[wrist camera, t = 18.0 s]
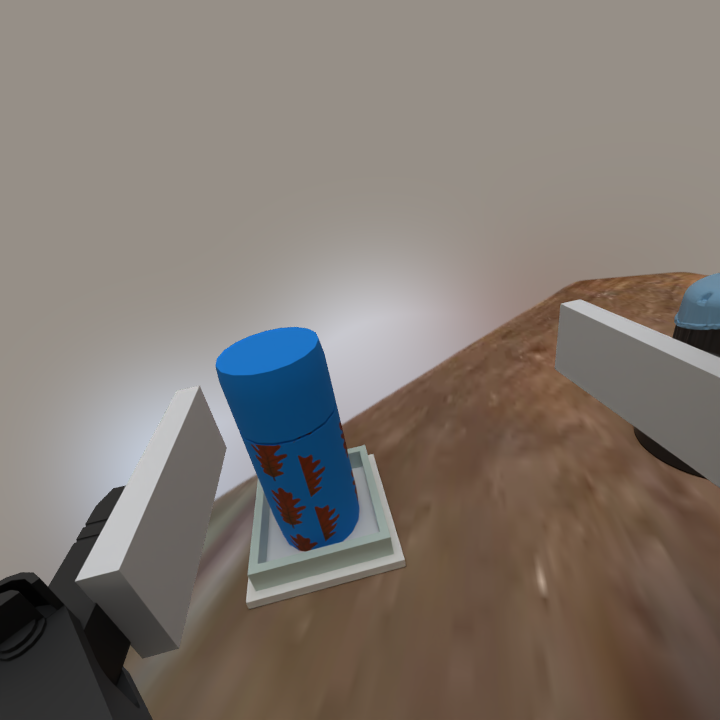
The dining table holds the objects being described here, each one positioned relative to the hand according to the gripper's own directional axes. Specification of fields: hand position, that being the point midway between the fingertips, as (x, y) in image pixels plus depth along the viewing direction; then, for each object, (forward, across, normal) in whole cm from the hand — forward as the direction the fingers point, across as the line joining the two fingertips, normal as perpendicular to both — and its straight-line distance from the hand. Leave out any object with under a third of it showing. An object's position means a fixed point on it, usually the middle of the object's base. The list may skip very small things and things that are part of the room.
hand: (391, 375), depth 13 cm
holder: (+24, -8, -34) cm, 42 cm away
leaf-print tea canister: (+24, -8, -33) cm, 41 cm away
